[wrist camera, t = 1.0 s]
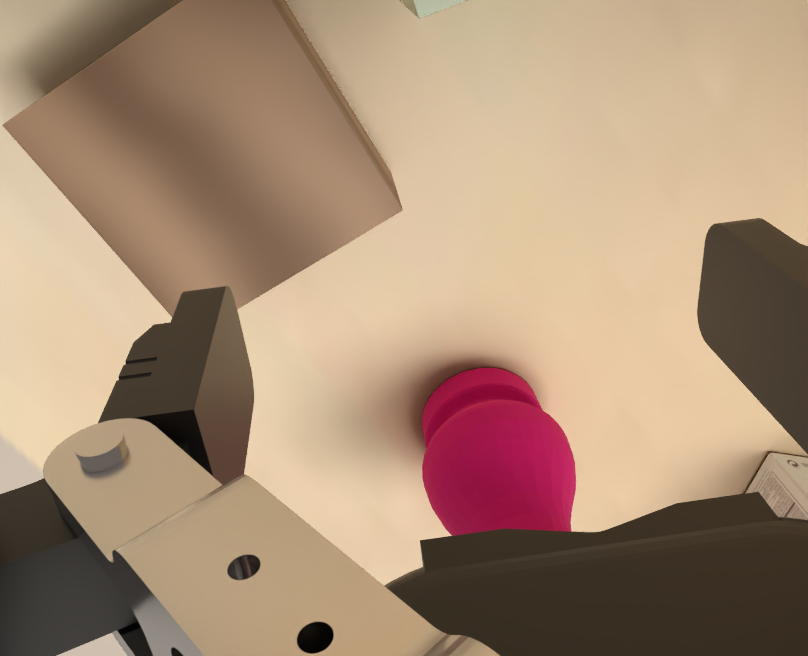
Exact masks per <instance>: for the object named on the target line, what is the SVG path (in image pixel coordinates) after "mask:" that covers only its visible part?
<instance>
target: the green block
mask: <svg viewBox="0 0 808 656" xmlns="http://www.w3.org/2000/svg"><path fill="white" fill-rule="evenodd" d="M464 1H467V0H400V2H401V3H403V4H404V5H405V6H406V7H407V8H408V9H409V10H410V11H411V12H413V13H414V14H415V15H416V16H417V17H418V18H422V17H425V16H427V15H430V14H432V13H435V12H438V11H440V10H443V9H446V8H448V7H451V6H454V5H456V4H459V3H461V2H464Z"/></svg>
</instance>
